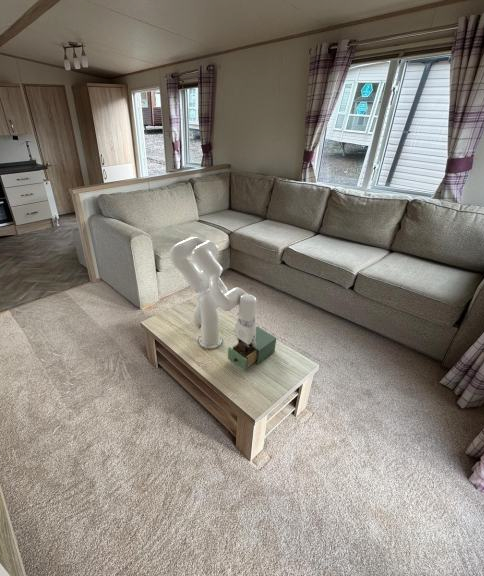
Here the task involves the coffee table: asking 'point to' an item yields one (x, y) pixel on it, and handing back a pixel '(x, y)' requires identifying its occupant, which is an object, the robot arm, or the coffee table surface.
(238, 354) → the drawer
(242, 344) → the block
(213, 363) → the coffee table surface
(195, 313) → the soap bottle
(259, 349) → the cabinet
